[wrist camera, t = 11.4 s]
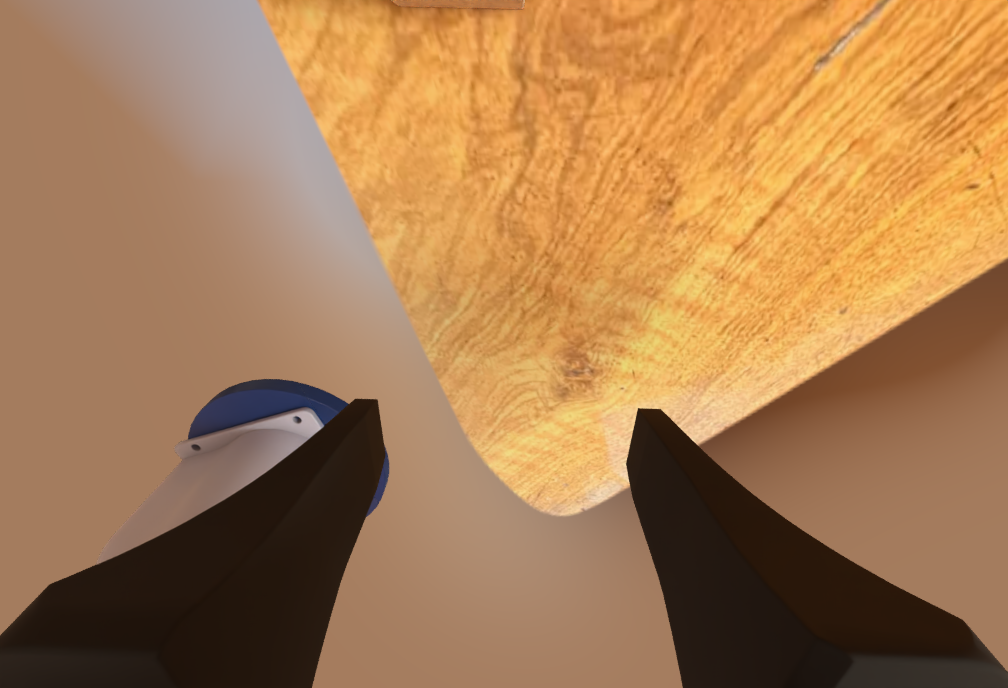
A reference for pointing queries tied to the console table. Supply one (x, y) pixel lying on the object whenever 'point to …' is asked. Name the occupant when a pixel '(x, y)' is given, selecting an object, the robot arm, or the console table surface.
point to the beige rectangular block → (463, 3)
